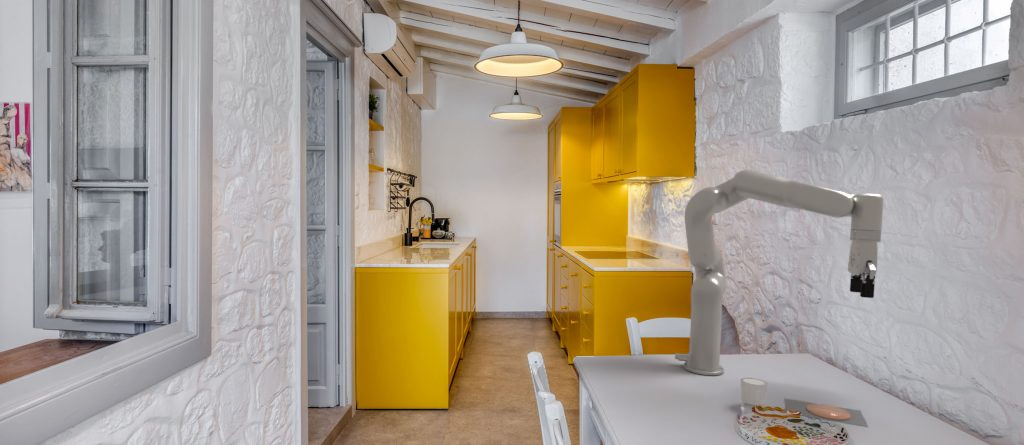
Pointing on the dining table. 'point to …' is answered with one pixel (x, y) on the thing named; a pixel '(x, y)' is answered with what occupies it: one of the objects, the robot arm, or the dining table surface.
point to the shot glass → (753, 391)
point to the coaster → (828, 412)
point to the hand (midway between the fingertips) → (861, 294)
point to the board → (802, 407)
